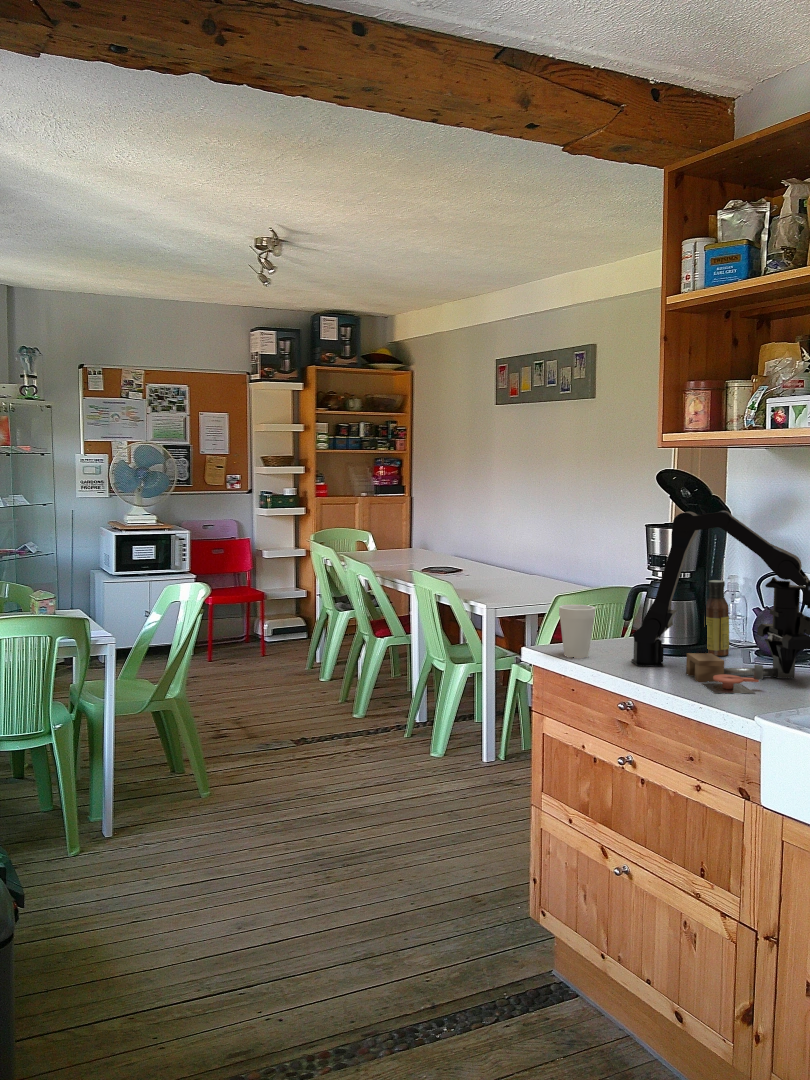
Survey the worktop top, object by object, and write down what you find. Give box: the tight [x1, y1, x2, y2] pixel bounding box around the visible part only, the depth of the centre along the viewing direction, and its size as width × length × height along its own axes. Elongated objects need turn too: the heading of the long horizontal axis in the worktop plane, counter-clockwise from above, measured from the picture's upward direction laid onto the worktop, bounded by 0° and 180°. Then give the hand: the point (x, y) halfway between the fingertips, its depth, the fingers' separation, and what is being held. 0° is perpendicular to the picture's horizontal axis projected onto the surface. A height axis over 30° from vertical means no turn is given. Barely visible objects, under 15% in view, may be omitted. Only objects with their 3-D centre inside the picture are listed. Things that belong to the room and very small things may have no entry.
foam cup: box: [558, 604, 596, 659], centre depth 246 cm, size 10×9×13 cm
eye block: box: [685, 652, 725, 683], centre depth 222 cm, size 6×9×5 cm
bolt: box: [724, 655, 796, 679], centre depth 222 cm, size 17×3×5 cm, turn 91°
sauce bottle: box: [705, 579, 730, 657], centre depth 248 cm, size 7×6×20 cm
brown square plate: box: [700, 682, 756, 695], centre depth 211 cm, size 9×9×1 cm
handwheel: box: [713, 664, 764, 689], centre depth 210 cm, size 11×6×5 cm, turn 82°
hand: (783, 671), depth 222 cm, fingers closed on bolt, 3 cm apart
